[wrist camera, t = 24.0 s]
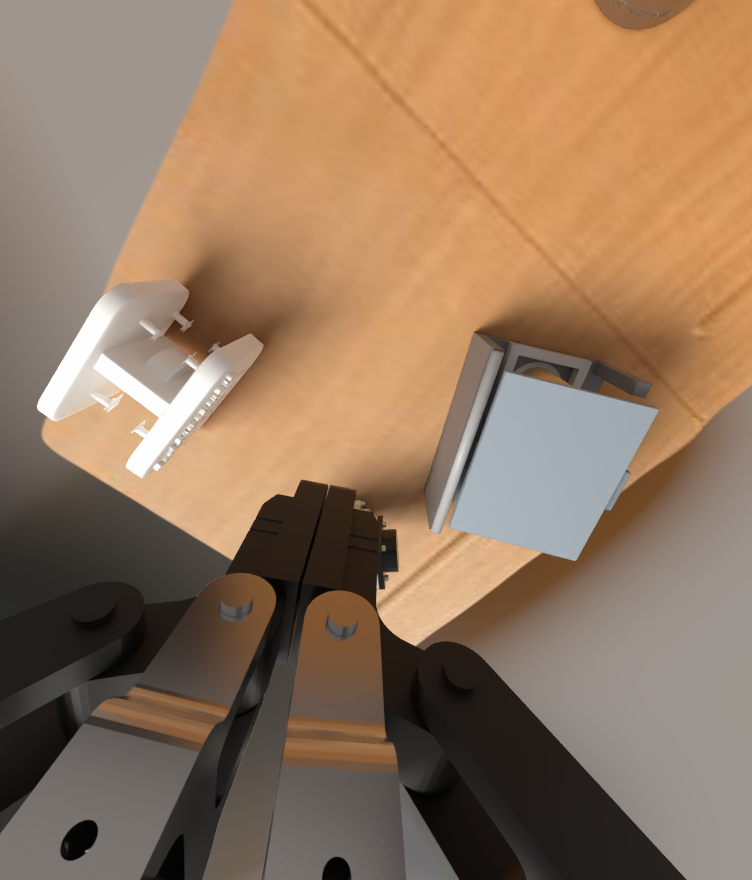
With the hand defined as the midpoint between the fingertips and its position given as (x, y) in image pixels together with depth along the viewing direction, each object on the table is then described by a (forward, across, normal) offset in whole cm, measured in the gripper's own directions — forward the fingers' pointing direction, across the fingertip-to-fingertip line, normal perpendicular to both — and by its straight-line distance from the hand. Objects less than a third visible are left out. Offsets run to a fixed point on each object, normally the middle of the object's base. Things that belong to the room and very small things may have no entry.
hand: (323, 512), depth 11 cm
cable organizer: (+32, +18, +7) cm, 38 cm away
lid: (+24, -18, +8) cm, 31 cm away
